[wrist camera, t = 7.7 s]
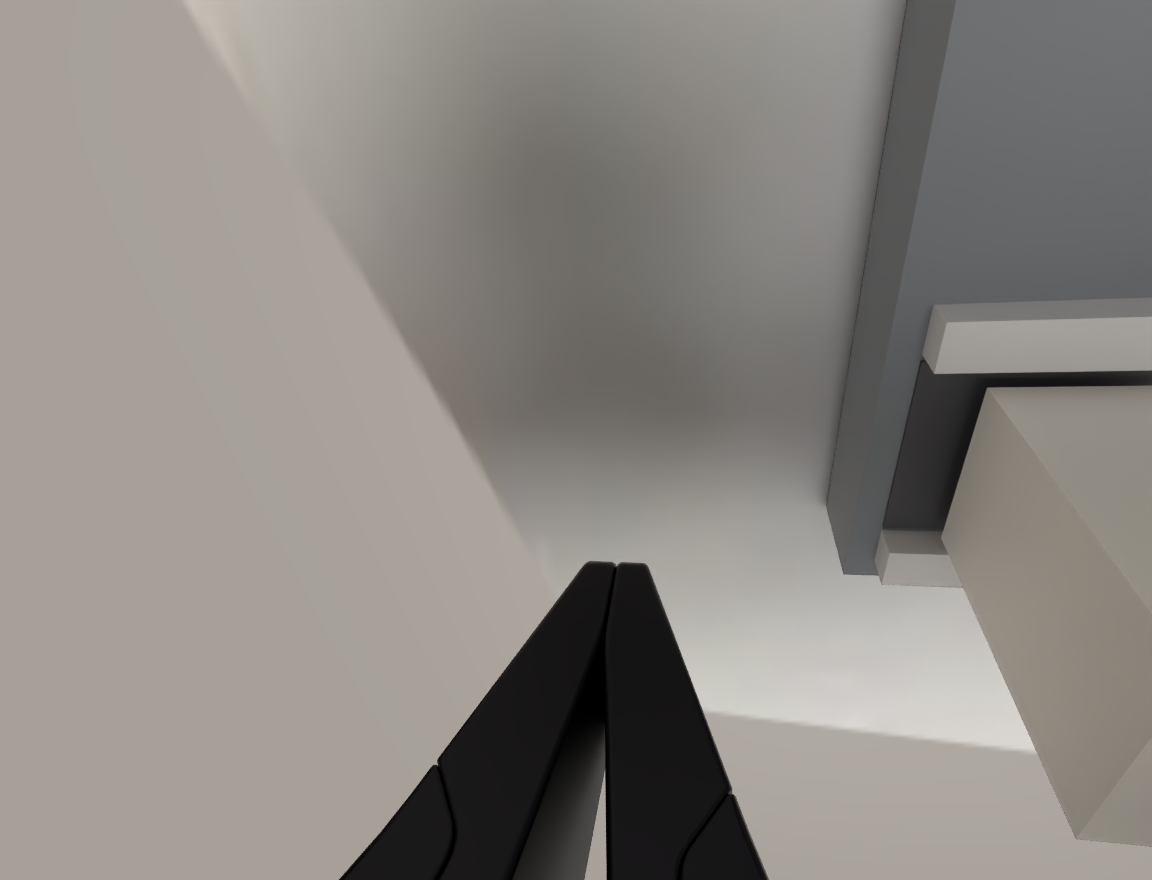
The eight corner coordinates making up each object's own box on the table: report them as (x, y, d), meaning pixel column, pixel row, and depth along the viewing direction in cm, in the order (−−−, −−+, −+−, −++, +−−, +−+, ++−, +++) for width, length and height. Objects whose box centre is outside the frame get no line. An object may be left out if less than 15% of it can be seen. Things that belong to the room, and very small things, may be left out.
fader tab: (1178, 383, 9) (1562, 702, 5) (1098, 542, 11) (1336, 872, 7) (987, 386, 9) (1201, 682, 5) (940, 539, 11) (1077, 847, 7)
